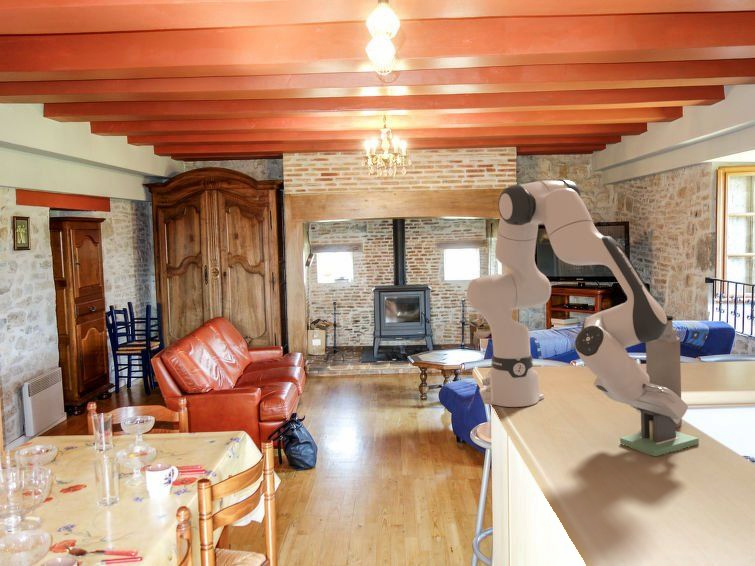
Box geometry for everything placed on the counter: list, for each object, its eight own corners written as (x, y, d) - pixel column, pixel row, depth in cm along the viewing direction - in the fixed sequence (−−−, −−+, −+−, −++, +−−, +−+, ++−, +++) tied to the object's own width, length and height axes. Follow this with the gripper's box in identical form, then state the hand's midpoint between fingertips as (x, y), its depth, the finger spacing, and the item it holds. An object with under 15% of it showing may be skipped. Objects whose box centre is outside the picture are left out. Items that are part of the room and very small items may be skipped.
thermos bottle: (646, 417, 161) (643, 313, 159) (679, 418, 159) (677, 313, 156) (649, 427, 154) (646, 318, 151) (684, 428, 151) (681, 318, 149)
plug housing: (657, 442, 139) (656, 407, 138) (641, 437, 143) (640, 403, 142) (675, 437, 141) (675, 403, 140) (659, 432, 145) (658, 399, 144)
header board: (655, 457, 135) (654, 430, 134) (620, 443, 144) (619, 419, 143) (698, 444, 140) (698, 419, 140) (662, 432, 149) (661, 408, 149)
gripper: (673, 378, 128) (706, 415, 133) (601, 362, 147) (632, 395, 151) (659, 402, 127) (692, 439, 131) (587, 383, 145) (619, 415, 150)
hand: (659, 415), depth 142 cm, fingers open, 8 cm apart
